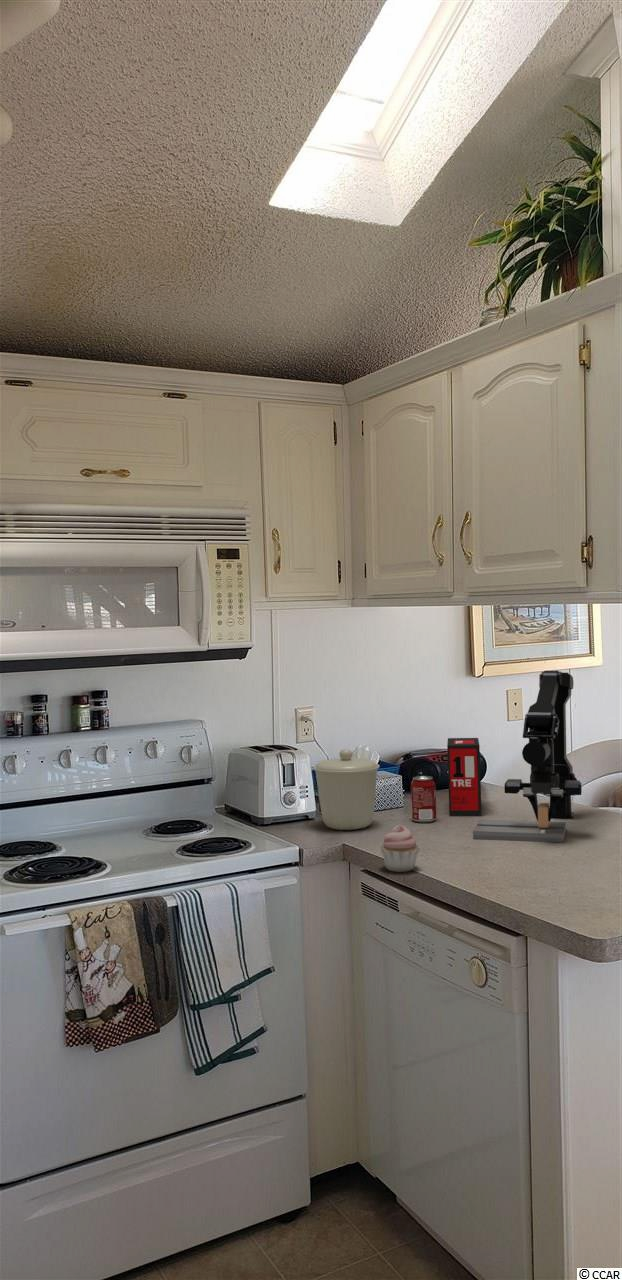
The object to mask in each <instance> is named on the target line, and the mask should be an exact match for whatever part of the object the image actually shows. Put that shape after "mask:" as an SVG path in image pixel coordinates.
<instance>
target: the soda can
mask: <svg viewBox="0 0 622 1280" xmlns="http://www.w3.org/2000/svg"><path fill="white" fill-rule="evenodd" d="M433 779H434V778H433V776H430V775H429V776H428V775H419V776H418V775H417V776H414V777H412V781H411V783H410V801H411V802H410V803H411V808H410V809H411V819H412V820H413V821H414V822H415V823H419V824H420V823H421V824H427V823H433V822H434V821H436V819H437V796H436V795H437V794H436V792H437V791H436V788H437V787H436V783H435V781H434V780H433Z"/></svg>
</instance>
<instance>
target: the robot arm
mask: <svg viewBox="0 0 622 1280" xmlns="http://www.w3.org/2000/svg"><path fill="white" fill-rule="evenodd" d="M538 679H539V681H538V683H539V685H538V688H539V689H538V690H539V691H538V694H537V698H536V701H535V703H533V704H531V705H529V708H528V711H527V713H526V714H524V715H525V716H524V722H523V732H522V739H528V743H526V744H525V745H524V746H523V749H522V751H521V756H522V758H523V760H524V761H525V762H526V763H527V764H528V765H530V775H529V782H523V780H522V779H519V778H516V779H515V778H508V779H507V780H505V783H504V789H503V790H504V794H515V795H517V794H519V792H520V791H522V792H523V794H522V797H523V798H527V799H528V801H529V803H530V804H531V807H532V810H533V812H534V815H535V819H536V821H538V805H539V802H538V796H537V794H543V795H549V815H548V818H549V822H551V821H552V818H554V819H557V818H558V819H559V818H562V819H573V818H574V811H572V796H581V795H582V793H583V791H582V788H583V785H582V782H581V781H580V780H578V779H577V778H576V775H575V773H574V771H573V770H574V768H573V765H572V764H571V762H570V761H569V759H568V757H567V719H566V718H567V715H566V714H567V710H566V706H567V705H566V704H567V703H568V701H569V700H570V698H571V696H572V690H573V689H574V685H575V684H574V676H573V675H572V674H569V672H566V671H565V672H562V671H559V670H544V671H541V673H540V674H539V678H538Z"/></svg>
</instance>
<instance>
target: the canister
mask: <svg viewBox="0 0 622 1280" xmlns="http://www.w3.org/2000/svg"><path fill="white" fill-rule="evenodd" d="M312 769H313V771H315V778H316V783H317V786H316V787H317V792H318V799H319V800H318V801H319V806H320V812H321V817H322V820H323V821H322V822H323V823H324V825H326V827H327V828H329V829H332V830H339V831H351V830H352V831H354V830H361V829H365V828H368V827H369V826H370V825H371V823H372V822H373V820H374V819H373V818H374V816H375V815H374V814H375V804H376V793H377V779H378V778H377V777H378V769H380V764H378V763H376V762H375V761H374V760H371V759H369V758H368V759H367V758H362V757H353V752H352V750H350V749H348V748H344V749H340V751H339V757H337V758H329V759H325V760H321V761H319V762H318V763H317V764H316V765H314V766H313V767H312Z"/></svg>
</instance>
